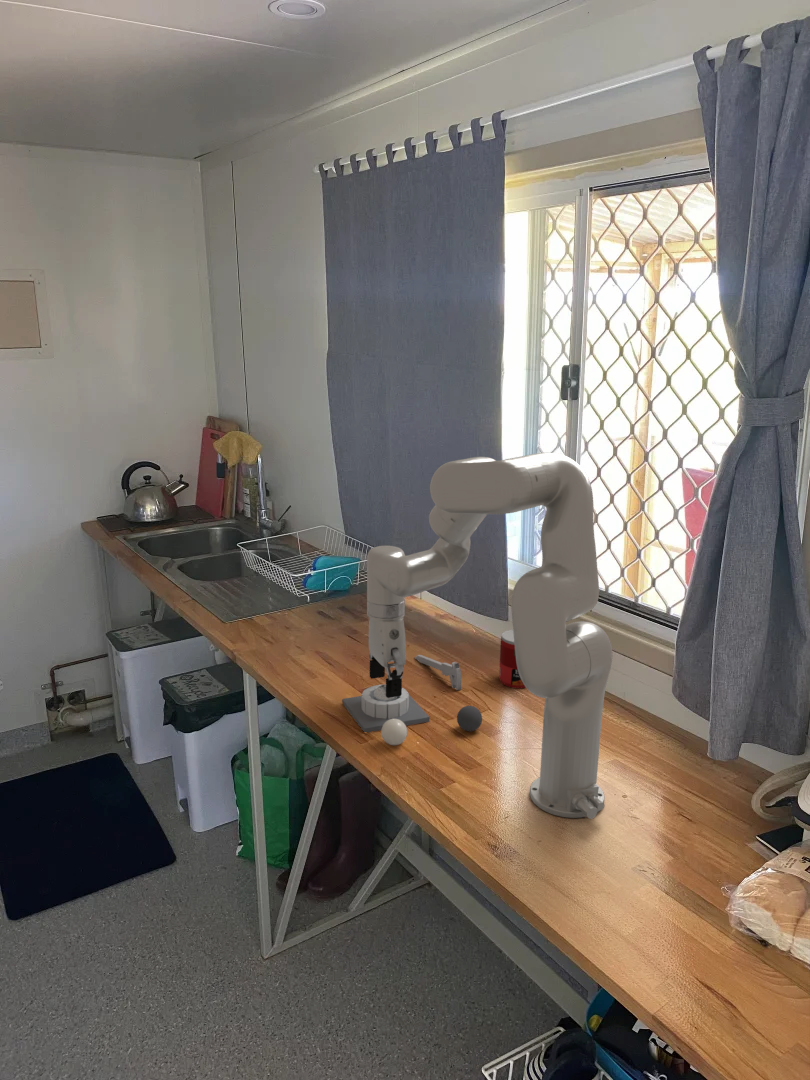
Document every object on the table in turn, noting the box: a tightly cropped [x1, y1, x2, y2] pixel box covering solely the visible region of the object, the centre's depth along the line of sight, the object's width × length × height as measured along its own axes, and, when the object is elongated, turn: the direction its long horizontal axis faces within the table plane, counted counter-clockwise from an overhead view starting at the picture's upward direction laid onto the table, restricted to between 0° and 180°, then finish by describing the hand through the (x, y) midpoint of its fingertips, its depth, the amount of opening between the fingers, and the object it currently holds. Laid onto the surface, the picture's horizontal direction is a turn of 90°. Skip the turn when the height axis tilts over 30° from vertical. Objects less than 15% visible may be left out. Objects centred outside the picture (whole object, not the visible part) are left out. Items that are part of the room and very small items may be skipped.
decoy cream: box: [380, 719, 408, 746], centre depth 163 cm, size 5×5×5 cm
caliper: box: [413, 654, 462, 691], centre depth 195 cm, size 20×1×6 cm, turn 27°
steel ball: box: [373, 684, 398, 702], centre depth 176 cm, size 5×5×5 cm
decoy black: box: [456, 705, 483, 732], centre depth 169 cm, size 5×5×5 cm
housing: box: [341, 683, 430, 733], centre depth 176 cm, size 14×14×4 cm
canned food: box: [498, 629, 527, 689], centre depth 191 cm, size 8×8×11 cm
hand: (385, 686), depth 175 cm, fingers open, 9 cm apart
